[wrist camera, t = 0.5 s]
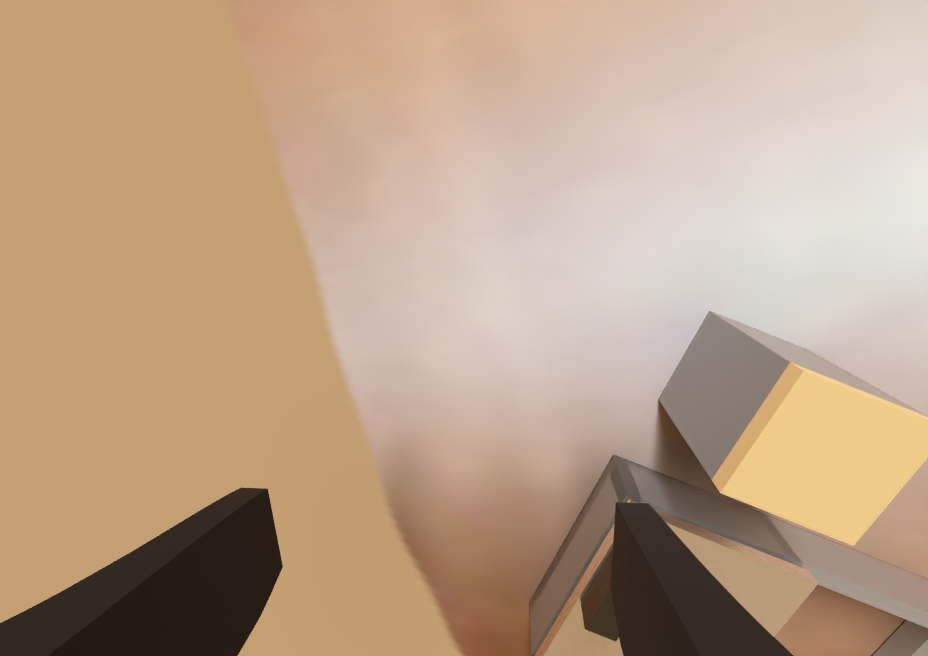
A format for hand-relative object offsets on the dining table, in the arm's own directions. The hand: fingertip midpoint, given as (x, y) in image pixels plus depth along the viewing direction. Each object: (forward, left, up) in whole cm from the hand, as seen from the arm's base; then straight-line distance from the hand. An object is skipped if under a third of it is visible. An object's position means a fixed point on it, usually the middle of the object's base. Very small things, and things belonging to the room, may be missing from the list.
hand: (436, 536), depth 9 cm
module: (-9, -3, -10) cm, 14 cm away
